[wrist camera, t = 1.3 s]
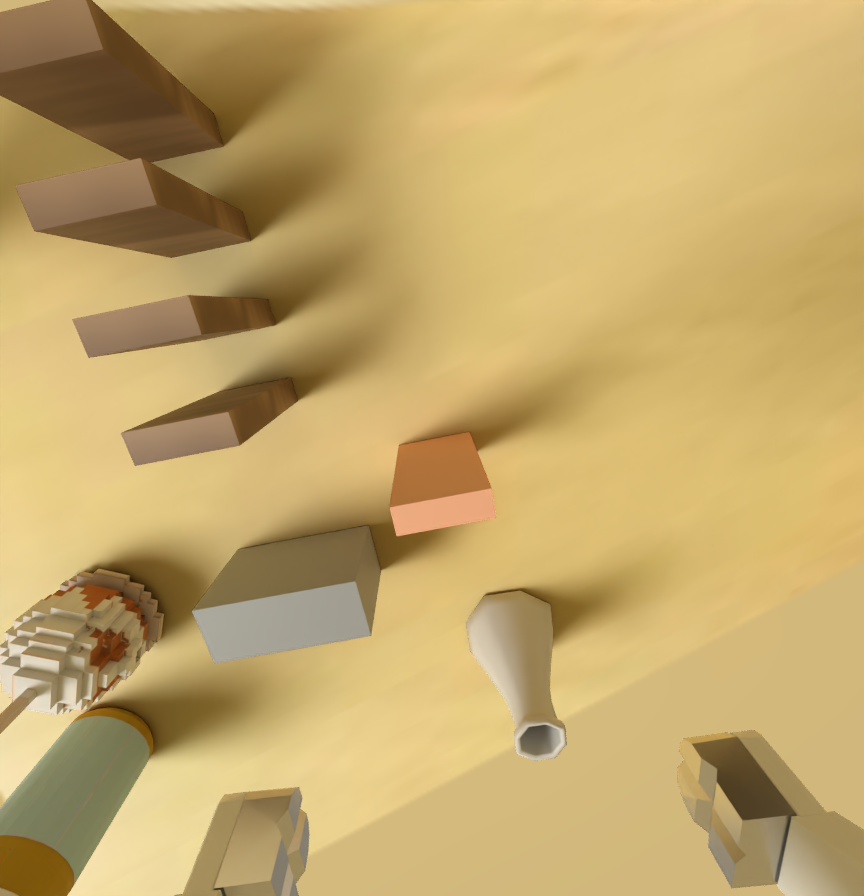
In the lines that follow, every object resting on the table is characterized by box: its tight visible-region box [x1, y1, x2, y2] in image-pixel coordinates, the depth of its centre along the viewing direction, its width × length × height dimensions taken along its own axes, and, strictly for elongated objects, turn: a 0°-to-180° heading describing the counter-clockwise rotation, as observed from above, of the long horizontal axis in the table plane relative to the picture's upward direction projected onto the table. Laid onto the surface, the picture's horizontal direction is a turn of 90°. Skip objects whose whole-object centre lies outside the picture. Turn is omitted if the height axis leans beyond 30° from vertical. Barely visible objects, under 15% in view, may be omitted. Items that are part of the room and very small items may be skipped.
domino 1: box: [0, 0, 223, 163], centre depth 20 cm, size 2×5×10 cm, turn 101°
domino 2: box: [15, 158, 251, 258], centre depth 22 cm, size 2×5×10 cm, turn 100°
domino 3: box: [72, 295, 275, 358], centre depth 23 cm, size 2×5×10 cm, turn 101°
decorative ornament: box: [0, 569, 164, 734], centre depth 27 cm, size 8×8×15 cm
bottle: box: [0, 707, 153, 896], centre depth 31 cm, size 7×7×15 cm
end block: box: [192, 525, 381, 663], centre depth 30 cm, size 10×4×7 cm, turn 101°
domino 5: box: [389, 432, 496, 536], centre depth 26 cm, size 2×5×10 cm, turn 101°
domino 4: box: [121, 378, 298, 466], centre depth 25 cm, size 2×5×10 cm, turn 101°
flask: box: [466, 591, 567, 761], centre depth 31 cm, size 7×7×10 cm
